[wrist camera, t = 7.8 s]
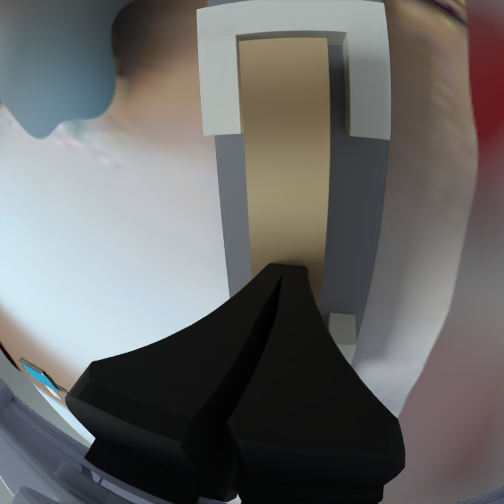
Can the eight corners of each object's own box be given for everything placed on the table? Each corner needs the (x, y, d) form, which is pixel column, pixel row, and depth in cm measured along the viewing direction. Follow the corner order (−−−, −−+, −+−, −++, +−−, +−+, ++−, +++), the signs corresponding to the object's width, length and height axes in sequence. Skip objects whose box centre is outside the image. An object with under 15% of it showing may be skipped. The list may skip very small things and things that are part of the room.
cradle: (341, 381, 20) (339, 418, 17) (243, 370, 22) (231, 404, 19) (374, -13, 8) (386, -43, 5) (214, -9, 10) (185, -32, 7)
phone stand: (38, 382, 50) (34, 387, 49) (12, 348, 45) (8, 353, 44) (85, 409, 45) (81, 414, 43) (54, 372, 40) (50, 378, 38)
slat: (311, 346, 18) (302, 410, 13) (275, 342, 18) (258, 405, 14) (325, 64, 10) (326, 38, 6) (270, 65, 11) (239, 41, 6)
